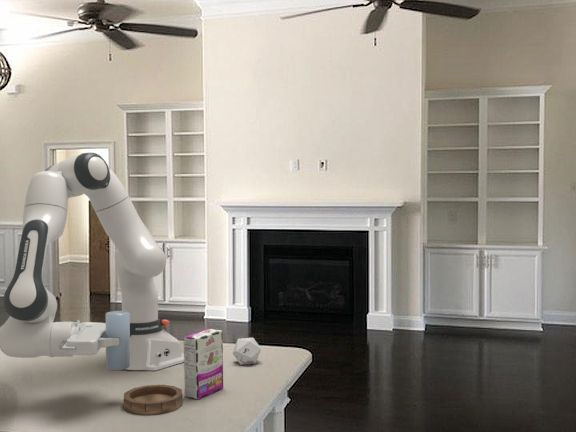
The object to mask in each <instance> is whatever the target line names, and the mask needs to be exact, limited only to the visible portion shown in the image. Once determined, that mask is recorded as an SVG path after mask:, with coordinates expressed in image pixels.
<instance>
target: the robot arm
mask: <svg viewBox="0 0 576 432" xmlns="http://www.w3.org/2000/svg"><path fill="white" fill-rule="evenodd" d="M29 181H30V182H29V184H28V187H27V191H26V196H25V200H24V206H23V214H22V230H21V231H22V232H21V238H20V243H19V247H18V253H17V259H16V264H15V270H14V273H13V277H12V278H11V280H10V282H9V284H8V286H7V288H6V289H5V292H4V293H3V298H2V300H3V301H2V302H3V307H4V310H5V312H6V313H7V314H8V316H9V317H8V319H6V320H5V323H3V324H2V325H1V326H0V351H1V352H2V353H3V354H4V355H6V356H7V357H12V358H21V359H22V358H24V359H25V358H26V359H27V358H29V359H34V358H39V357H40V358H41V357H50V358H66V357H68V358H71V357H73V356H93V355H97V354H98V353H99V351H100V349H101V348H102V349H104V348H105V349H106V347H109V346H118V345H119V343H120V338H119V337H113V338H106V322H93V321H91V322H90V321H83V322H80V319H79V320H78V319H75V320H69V321H55V319H56V315H57V311H58V301H57V298H56V297H55V295H54V294H53V293H52V291H50V290H48V289H47V288H46V287H45V284H44V281H43V272H44V266H45V259H46V253H47V250H48V249H47V248H48V246H49V245H50V243H52V242H55V241H57V240H58V239H60V238H61V237H62V235H63V234H64V231H65V229H66V224H67V219H68V218H67V217H68V209H69V206H68V205H69V204H68V202H69V199H70V198H76V197H81V196H82V195H85V196H86V197H88V199H89V201H90V205H91V206H92V208H93V210H94V212H95V214H96V216H97V219H98V220H99V223H100V224H101V226H102V228H103V230H104V232H105V234H106V235H107V237H108V238H109V239H110V240H111V241H112V242H113V244H114V245H115V248H116V249H115V252H114V261H115V264H116V267H117V268H116V269H117V274H118V275H117V276H118V282H119V287H120V294H121V311H128V312H130V367H129V368H126V369H125V370H129V371H159V370H162V369H166V368H168V367H171V366H175V365H177V364H181V363H184V352H182V346H181V342H180V341H179V340H178V339H177V338H176V337H174V336H173V335H171V334H170V333H169V332H167V331H166V330H165V329H164V327H165V328H166V327H169V325H170V321H169V320H168V319H161V318H159V295H158V292H157V289H156V285H155V280H154V278H155V277H157V276H159V275H161V274H162V273H163V272H164V269H165V268H166V265H167V257H166V255H165V251H163V249H162V248H161V247H160V245H158V243H157V241H156V239H155V238H154V237H153V235H152V234H151V232H150V231H149V229H148V227H146V225H145V224H144V222H143V220H142V219H141V217H140V215H139V214H138V213H139V212H137V209H136V208H135V206H134V204H133V202H132V200H131V198H130V196H129V194H128V192H127V190H126V188H125V186H124V185H123V183H122V181H121V180H120V179H119V177H118V176H117V174H116V173H115V172H114V170H112V169H110V167H109V165H108V163H107V161H106V160H105V159H104V158H103V157H102V155H100V154H98V153H96V152H83V153H80V154H77V155H74V156H73V155H72V156H70V157H67V158H65V159H63V160H61V161H59V162H57V163H55V164H52V165H50V166H48V167H47V168H46V169H45V170H43V171H39V172H36V173H35V174H33V175H32V177H31V178H30V180H29ZM163 326H164V327H163Z"/></svg>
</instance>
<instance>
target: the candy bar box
mask: <svg viewBox="0 0 576 432" xmlns="http://www.w3.org/2000/svg"><path fill="white" fill-rule="evenodd" d="M223 348H224V347H223V330H221V329H216V328H215V329H214V328H207V329H205V330H201V331H199V332H196V333H192V334H189V335H186V336H183V353H184V362H183V363H184V366H183V367H184V368H183V370H184V371H183V373H184V396H185V397H186V398H188V399H194V400H201V399H202V398H205V397H208V396H210V395H212V394H213V393H216V392H219V391H221V390H222V389H224V361H223V358H224V357H223V356H224V355H223V354H224V352H223V351H224V350H223Z"/></svg>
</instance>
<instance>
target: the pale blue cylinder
mask: <svg viewBox="0 0 576 432" xmlns="http://www.w3.org/2000/svg"><path fill="white" fill-rule="evenodd" d="M105 323H106V338H113V337H119V338H120V343H119V345H118V346H109V347H105V368H106V370H111V371H121V370H122V371H123V370H127V369H126V368H129V367H130V312H128V311H122V310H112V311H108V312H105Z"/></svg>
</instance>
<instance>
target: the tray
mask: <svg viewBox="0 0 576 432" xmlns="http://www.w3.org/2000/svg"><path fill="white" fill-rule="evenodd" d="M183 404H184V403H183V390H182V388H179V387H176V386H175V385H169V384H168V385H167V384H150V385H149V384H148V385H146V384H145V385H141V386H138V387H133V388H131V389H129V390H128V391H126V392H124V394H123V409H124V410H125V411H126V412H127V413H131V414H134V415H140V416H141V415H143V416H145V415H146V416H150V415H161V414H166V413H170V412H173V411H175V410H178V409H179V408H181V406H183Z"/></svg>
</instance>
